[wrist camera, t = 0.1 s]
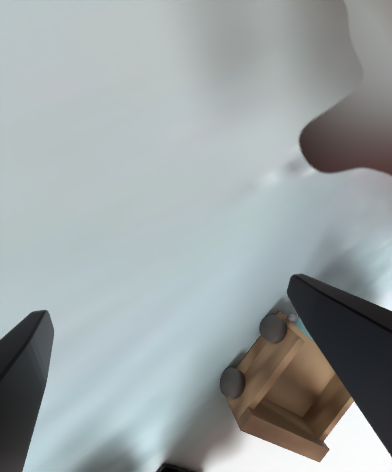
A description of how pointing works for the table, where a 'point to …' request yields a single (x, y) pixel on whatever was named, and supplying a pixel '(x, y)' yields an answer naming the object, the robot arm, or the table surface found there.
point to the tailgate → (299, 324)
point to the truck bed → (286, 390)
